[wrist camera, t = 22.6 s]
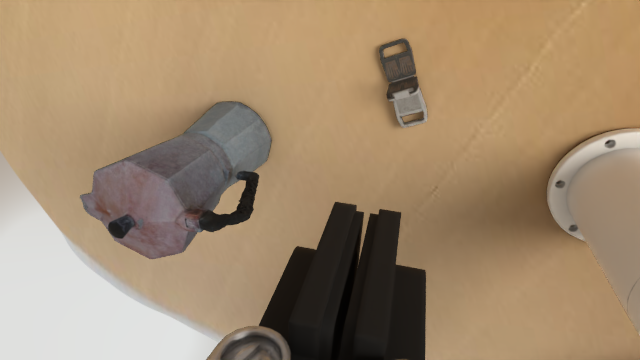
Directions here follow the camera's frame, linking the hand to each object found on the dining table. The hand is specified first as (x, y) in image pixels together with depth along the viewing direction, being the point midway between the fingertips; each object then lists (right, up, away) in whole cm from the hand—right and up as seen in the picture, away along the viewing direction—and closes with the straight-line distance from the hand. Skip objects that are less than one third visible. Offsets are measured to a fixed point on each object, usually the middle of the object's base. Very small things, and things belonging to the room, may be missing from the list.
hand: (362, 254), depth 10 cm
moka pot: (-11, +7, +37) cm, 39 cm away
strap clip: (+7, +12, +30) cm, 33 cm away
